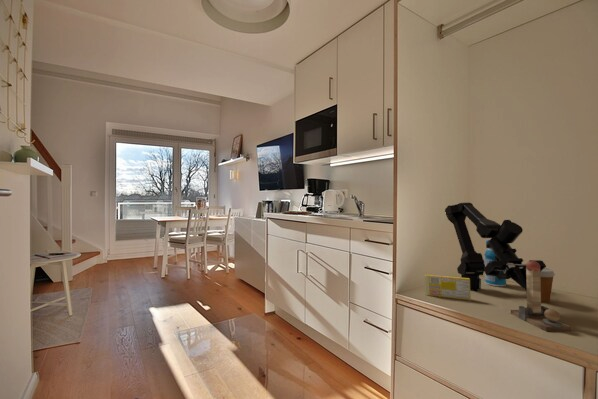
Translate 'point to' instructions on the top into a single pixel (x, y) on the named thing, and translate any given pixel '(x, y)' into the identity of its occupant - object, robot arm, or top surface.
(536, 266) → the lever
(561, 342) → the top surface
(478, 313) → the top surface
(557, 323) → the base
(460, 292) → the candy box
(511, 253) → the robot arm
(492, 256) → the beverage bottle
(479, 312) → the top surface
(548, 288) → the disposable coffee cup
